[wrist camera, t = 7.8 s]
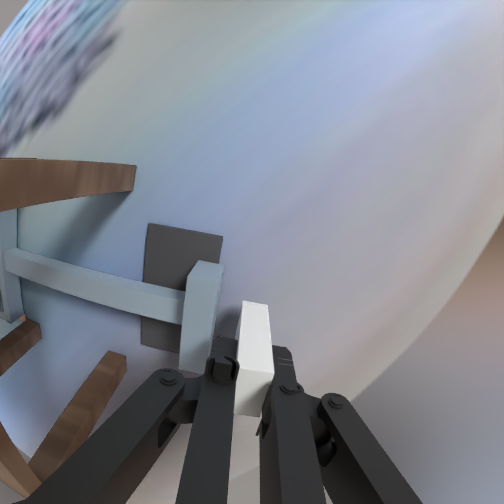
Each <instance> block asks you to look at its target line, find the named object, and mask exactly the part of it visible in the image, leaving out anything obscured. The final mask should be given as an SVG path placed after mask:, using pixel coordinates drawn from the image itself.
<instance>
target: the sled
mask: <svg viewBox="0 0 504 504" xmlns="http://www.w3.org/2000/svg"><path fill="white" fill-rule="evenodd" d="M224 267H225V265H222V264H216V263H211V262H206V261H201V260H198V262H197V263H196V265H195V266H194V268H193V269H192V270H191V272H190V273H189V275H188V276H187V284H186V292H185V291H180V290H175V289H171V288H166V287H162V286H157V285H153V284H148V283H144V282H140V281H136V280H131V279H127V278H123V277H119V276H115V275H111V274H107V273H103V272H99V271H95V270H92V269H88V268H84V267H80V266H77V265H73V264H69V263H66V262H62V261H59V260H55V259H52V258H48V257H45V256H42V255H38V254H35V253H32V252H28V251H25V250H22V249H19V248H17V209H12V210H7V211H3V212H0V290H1V296H0V318H2V319H3V320H5V321H7V322H9V323H11V324H12V323H13V322H14V321H16V320H17V319H18V318H20V317H21V316H23V315H24V311H23V305H22V298H21V290H20V282H19V276H20V277H23V278H25V279H28V280H31V281H33V282H36V283H39V284H41V285H44V286H47V287H50V288H53V289H56V290H59V291H61V292H64V293H67V294H70V295H73V296H77V297H80V298H83V299H86V300H89V301H93V302H96V303H99V304H103V305H106V306H109V307H113V308H116V309H120V310H124V311H127V312H131V313H135V314H139V315H142V316H146V317H150V318H154V319H158V320H163V321H167V322H171V323H176V324H180V325H182V331H181V343H180V355H179V368H178V369H179V370H184V371H188V372H193V373H197V374H202V375H203V374H204V372H205V366H206V360H207V358H208V357H209V355H210V351H211V347H212V340H213V334H214V327H215V321H216V315H217V309H218V303H219V296H220V290H221V284H222V279H223V273H224Z"/></svg>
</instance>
